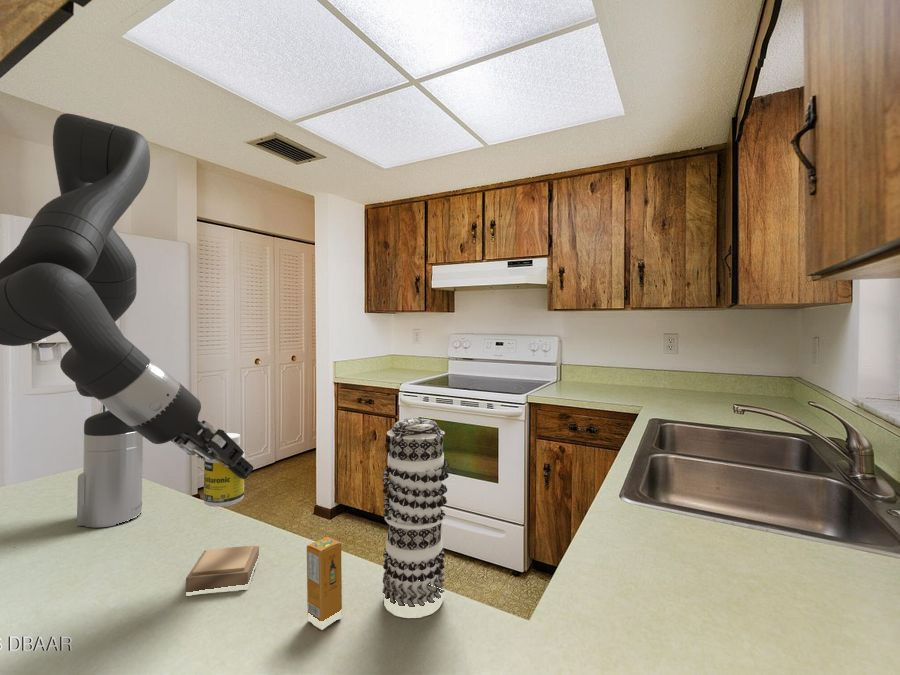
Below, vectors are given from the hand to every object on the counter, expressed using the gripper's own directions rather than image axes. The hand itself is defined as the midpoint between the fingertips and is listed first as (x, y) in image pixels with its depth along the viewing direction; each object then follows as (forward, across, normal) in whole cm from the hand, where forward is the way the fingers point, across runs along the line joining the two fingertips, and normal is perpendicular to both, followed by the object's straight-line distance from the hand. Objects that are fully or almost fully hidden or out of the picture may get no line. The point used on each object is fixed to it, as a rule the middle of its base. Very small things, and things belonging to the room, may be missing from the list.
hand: (236, 469), depth 67 cm
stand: (+10, 0, +12) cm, 16 cm away
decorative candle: (+18, -27, +4) cm, 33 cm away
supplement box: (+11, -20, +11) cm, 26 cm away
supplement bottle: (+2, 0, +4) cm, 5 cm away
